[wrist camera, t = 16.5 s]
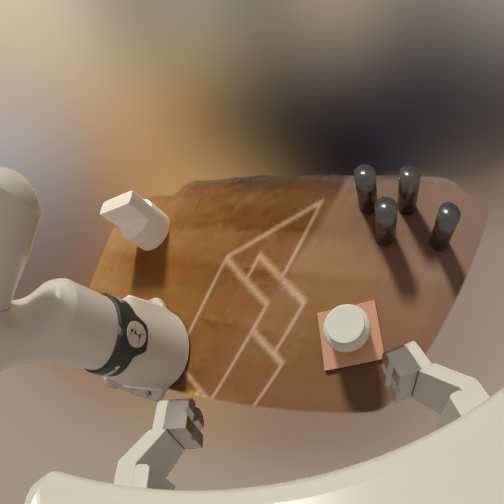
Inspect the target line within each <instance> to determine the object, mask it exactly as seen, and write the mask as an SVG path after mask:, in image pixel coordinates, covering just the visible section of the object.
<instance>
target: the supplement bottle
mask: <svg viewBox="0 0 504 504" xmlns="http://www.w3.org/2000/svg"><path fill="white" fill-rule="evenodd" d="M370 332H371V323H370V319H369V317H368V315H367V314H366V312H365V311H364V310H363V309H361V308H360V307H358V306H355V305H350V304H346V305H340V306H338V307H336V308H334V309H333V310H332V311H331V312H330V313H329V314H328V315H327V317H326V319H325V321H324V325H323V334H324V338H325V340H326V342H327V343H328V344H329V346H330V347H332V348H333V349H334V350H336V351H337V352H339V353H340V354H343V355H355V354H358V353H360V352H361V351H362V350H364V349H365V347H366V346H367V344H368V342H369V339H370Z"/></svg>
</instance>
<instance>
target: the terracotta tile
mask: <svg viewBox="0 0 504 504" xmlns="http://www.w3.org/2000/svg"><path fill="white" fill-rule="evenodd" d="M355 306H358V307H360V308H361V309H363V310H364V311H365V312H366V314H367V315H368V317H369V319H370V323H371V332H370V339H369V342H368V344H367V346H366V347H365V349H364V350H362V351H361V352H360V353H358V354H355V355H343V354H340V353H339V352H337V351H336V350H334V349H333V348H332V347H330V346H329V344H328V343H327V342H326V340H325V338H324V334H323V325H324V321H325V319H326V317H327V315H328V314H329V313H330V312H331V311H332V310H329V311H325V312H320V313H317V315H318V322H319V329H320V336H321V344H322V352H323V360H324V368H325V371H326V370H332V369H337V368H343V367H348V366H353V365H358V364H363V363H367V362H372V361H376V360H381V359H382V354H383V353H384V350H383V344H382V338H381V332H380V327H379V322H378V316H377V311H376V306H375V302H374V300H372V301H368V302H364V303H360V304H356V305H355Z"/></svg>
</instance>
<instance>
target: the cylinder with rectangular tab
mask: <svg viewBox="0 0 504 504" xmlns="http://www.w3.org/2000/svg"><path fill="white" fill-rule="evenodd" d="M100 215H102V216H103V217H104V218H106V219H107V220H108V221H110V222H112V223H113V224H114V225H116V226H117V227H118V228H120V232H121V235H122V236H123V237H124V238H126V239H127V240H129V241H130V242H132V243H133V244H135V245H136V246H138V247H140V248H141V249H143V250H145V251H150V250H153V249H155V248H156V247H158V246H159V245H160V244H161V243H162V242H163V241H164V239H165V238H166V236H167V234H168V232H169V228H170V220H169V218H168V216H167V215H166V214H165V213H163V212H162V211H161V210H160V209H159V208H157V207H156V206H155V205H154V204H153V203H152V202H150V201H149V200H148V199H142V198H141V197H140V196H139V195H137V194H136V193H135V192H134V191H133V190H132V191H129V192H127V193H125V194H122V195H119V196H117V197H115V198H112V199H110V200H108V201H106V202H104V203H103V206H102V208H101V212H100Z"/></svg>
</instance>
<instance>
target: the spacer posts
mask: <svg viewBox="0 0 504 504" xmlns="http://www.w3.org/2000/svg"><path fill="white" fill-rule="evenodd" d="M354 177H355V183H356V189H357V196H358V203H359V208H360V210H361V211H362V212H364V213H372V212H374V211H375V237H376V241H377V242H378V243H379V244H380V245H383V246H388V245H390V244H392V243H393V241H394V239H395V231H396V221H397V209H398V210H399V211H400V212H401V213H402V214H404V215H410V214H412V213H414V211H415V208H416V202H417V196H418V189H419V182H420V173H419V171H418V170H417V169H416V168H415V167H413V166H404V167H402V168H401V169H400V172H399V190H398V207H397V203H396V202H395V201H394V200H393V199H392V198H389V197H382V198H379V199H378V200H377V189H376V173H375V170H374V169H373V167H371V166H369V165H360V166H358V167H357V168H356V169H355V171H354ZM459 219H460V211H459V209H458V207H457V206H456V205H455V204H453V203H450V202H446V203H443V204H442V205H441V206H440V208H439V211H438V215H437V218H436V221H435V225H434V228H433V231H432V234H431V237H430V244H431V246H432V248H434V249H435V250H437V251H443V250H445V249H446V247H447V246H448V243H449V241H450V239H451V237H452V235H453V233H454V230H455V228H456V226H457V223H458V221H459Z"/></svg>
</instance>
